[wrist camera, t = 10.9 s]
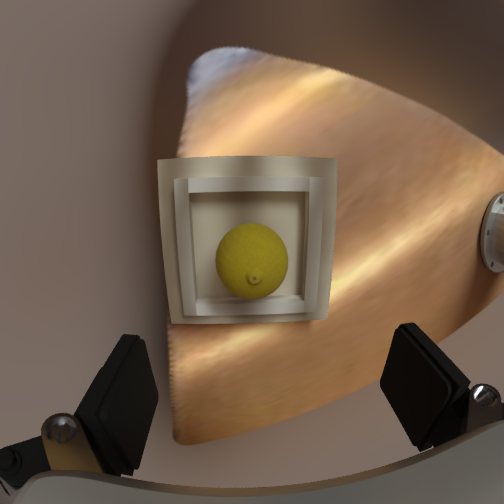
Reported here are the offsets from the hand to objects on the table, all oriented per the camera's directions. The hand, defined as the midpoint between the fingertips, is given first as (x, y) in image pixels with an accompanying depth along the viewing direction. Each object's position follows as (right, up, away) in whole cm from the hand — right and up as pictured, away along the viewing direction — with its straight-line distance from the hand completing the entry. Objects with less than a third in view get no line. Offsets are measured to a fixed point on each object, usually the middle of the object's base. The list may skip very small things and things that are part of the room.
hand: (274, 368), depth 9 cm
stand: (-1, +6, +19) cm, 20 cm away
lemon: (-1, +5, +16) cm, 17 cm away
